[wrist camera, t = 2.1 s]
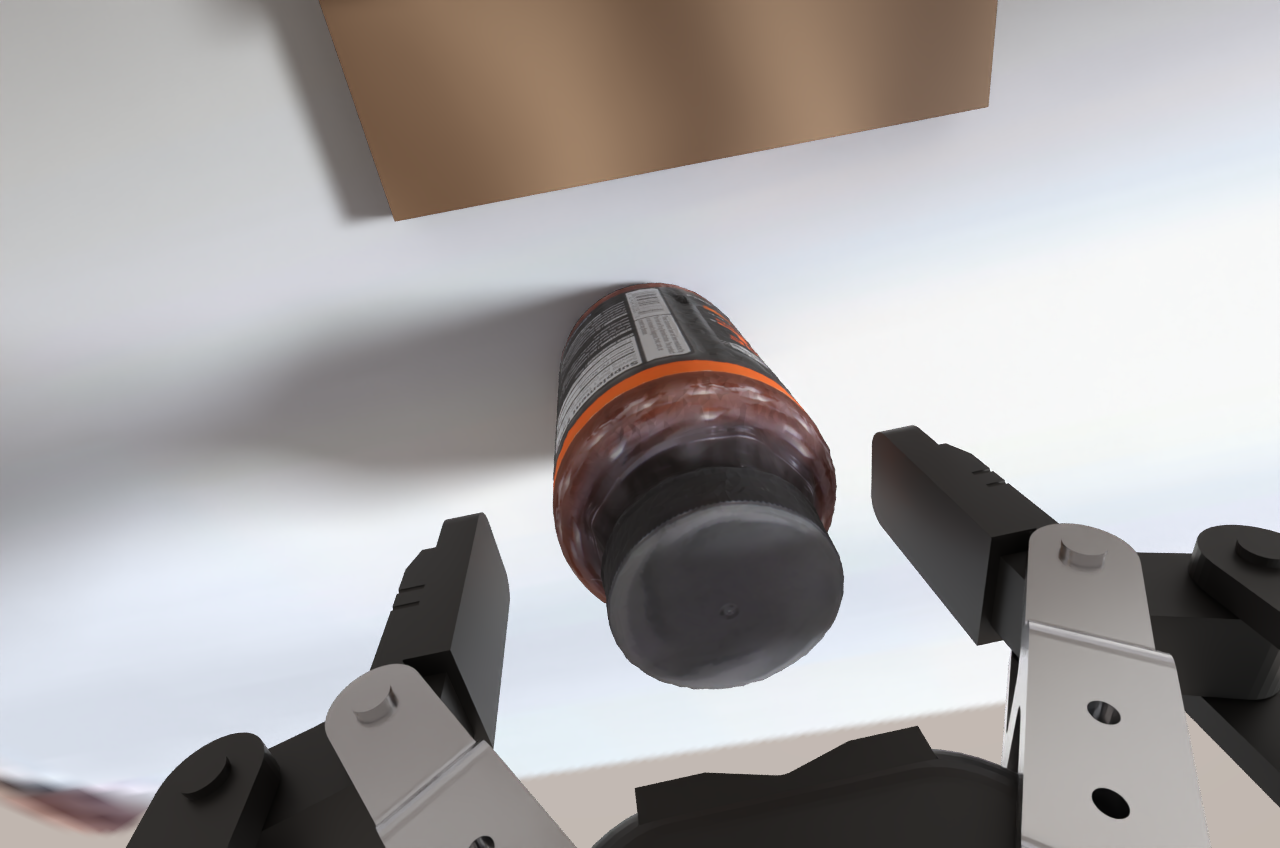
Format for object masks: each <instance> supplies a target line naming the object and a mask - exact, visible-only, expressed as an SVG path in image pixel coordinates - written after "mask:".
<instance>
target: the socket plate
mask: <svg viewBox="0 0 1280 848" xmlns="http://www.w3.org/2000/svg"><path fill="white" fill-rule="evenodd" d="M319 2H320V5H321V8H322V11H323V14H324V17H325V20H326V23H327V26H328V29H329V31H330V34H331V37H332V40H333V43H334V46H335V49H336V52H337V55H338V58H339V61H340V63H341V66H342V69H343V72H344V75H345V78H346V81H347V84H348V87H349V90H350V93H351V95H352V98H353V101H354V104H355V107H356V110H357V113H358V116H359V119H360V122H361V125H362V127H363V130H364V133H365V136H366V139H367V142H368V145H369V148H370V151H371V154H372V157H373V159H374V162H375V165H376V168H377V171H378V174H379V177H380V180H381V183H382V186H383V189H384V191H385V194H386V197H387V200H388V203H389V206H390V209H391V212H392V215H393V218H394V221H400V220H406V219H411V218H416V217H421V216H426V215H431V214H437V213H442V212H447V211H452V210H457V209H463V208H468V207H473V206H478V205H483V204H488V203H494V202H499V201H504V200H509V199H514V198H519V197H525V196H530V195H535V194H540V193H545V192H551V191H556V190H561V189H566V188H571V187H576V186H582V185H587V184H592V183H597V182H602V181H607V180H613V179H618V178H623V177H628V176H633V175H638V174H644V173H649V172H654V171H659V170H664V169H670V168H675V167H680V166H685V165H690V164H695V163H701V162H706V161H711V160H716V159H721V158H726V157H732V156H737V155H742V154H747V153H752V152H758V151H763V150H768V149H773V148H778V147H783V146H789V145H794V144H799V143H804V142H809V141H814V140H820V139H825V138H830V137H835V136H840V135H845V134H851V133H856V132H861V131H866V130H871V129H877V128H882V127H887V126H892V125H897V124H902V123H908V122H913V121H918V120H923V119H928V118H933V117H939V116H944V115H949V114H954V113H959V112H965V111H970V110H975V109H980V108H985V107H988V105H989V94H990V82H991V71H992V59H993V48H994V36H995V25H996V13H997V2H998V0H319Z"/></svg>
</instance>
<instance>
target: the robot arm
mask: <svg viewBox="0 0 1280 848" xmlns="http://www.w3.org/2000/svg"><path fill="white" fill-rule="evenodd" d="M871 498H872V505H873V509H874V512H875V515H876V517H877V519H878V521H879V523H880V525H881V526H882V527H883V529H884V530H885V531H886V532H887V534H888V535H889V536H890V537H891V539H892V540H893V541H894V542H895V544H896V545H897V546H898V547H899V549H900V550H901V551H902V552H903V554H904V555H905V556H906V557H907V559H908V560H909V561H910V562H911V564H912V565H913V566H914V567H915V569H916V570H917V571H918V572H919V574H920V575H921V576H922V577H923V579H924V580H925V581H926V582H927V584H928V585H929V586H930V587H931V589H932V590H933V591H934V592H935V594H936V595H937V596H938V597H939V599H940V600H941V601H942V602H943V604H944V605H945V606H946V607H947V609H948V610H949V611H950V612H951V614H952V615H953V616H954V617H955V619H956V620H957V621H958V622H959V624H960V625H961V626H962V627H963V629H964V630H965V631H966V632H967V634H968V635H969V636H970V637H971V639H972V640H973V641H974V642H975V644H976V645H977V646H978V645H983V644H988V643H992V642H997V641H1001V640H1004V641H1005V643H1006V644H1007V645H1008V646H1009V647H1010V648H1011V652H1010V658H1009V665H1008V679H1007V693H1006V707H1005V722H1004V736H1003V750H1002V760H1001V766H1000V765H998V764H995V763H993V762H990V761H987V760H984V759H981V758H979V757H974V756H971V755H967V754H963V753H959V752H953V751H946V750H937V749H931V747H930V746H929V744H928V742H927V741H926V739H925V737H924V736H923V734H922V732H921V731H920V729H919V727H918V726H915V727H910V728H905V729H901V730H897V731H892V732H887V733H883V734H878V735H874V736H870V737H865V738H860V739H856V740H851V741H848V742H846V743H844V744H842V745H840V746H839V747H837V748H835V749H833V750H831V751H829V752H827V753H826V754H824V755H822V756H820V757H818V758H816V759H814V760H812V761H811V762H809V763H807V764H805V765H803V766H801V767H800V768H798V769H796V770H794V771H792V772H790V773H787V774H785V775H778V776H777V775H776V776H775V775H751V774H725V773H702V774H697V775H692V776H688V777H683V778H679V779H674V780H670V781H665V782H660V783H656V784H651V785H647V786H642V787H638V788H635V794H636V803H637V812H638V813H636V814H634V815H633V816H631V817H629V818H627V819H626V820H624V821H623V822H621V823H620V824H618V825H617V826H616V827H614V828H613V829H611V830H610V831H609V832H608V833H607V834H605V835H604V836H603V837H602V838H601V839H600V840H599V841H598V842H596V843H595V844H594V845H593V847H592V848H1211V844H1210V839H1209V834H1208V829H1207V824H1206V819H1205V813H1204V809H1203V803H1202V798H1201V793H1200V788H1199V782H1198V777H1197V772H1196V767H1195V762H1194V757H1193V752H1192V747H1191V741H1190V737H1189V731H1188V726H1187V721H1186V716H1185V711H1186V713H1187V714H1188V715H1189V716H1190V717H1191V718H1192V719H1194V721H1195V722H1196V723H1197V724H1198V725H1199V726H1200V727H1201V728H1202V729H1203V730H1204V731H1205V732H1206V733H1207V734H1208V735H1209V736H1210V737H1211V738H1212V739H1213V740H1214V741H1215V742H1216V743H1217V744H1218V745H1219V746H1220V747H1221V748H1222V749H1223V750H1224V751H1225V752H1226V753H1227V754H1228V755H1229V756H1230V757H1231V758H1232V759H1233V760H1234V761H1235V762H1236V763H1237V764H1238V765H1239V767H1240V768H1242V770H1244V772H1245V773H1246V774H1248V776H1250V778H1251V779H1252V780H1253V781H1254V782H1255V783H1256V784H1257V785H1258V786H1259V787H1260V788H1261V789H1262V790H1263V791H1264V792H1265V793H1266V794H1267V795H1268V796H1269V797H1270V798H1271V799H1272V800H1273V801H1274V802H1275V803H1276V804H1277V805H1278V806H1279V807H1280V533H1277V532H1274V531H1270V530H1266V529H1262V528H1257V527H1251V526H1243V525H1221V526H1215V527H1211V528H1208V529H1206V530H1204V531H1203V532H1201V533H1200V534H1199V536H1198V538H1197V541H1196V544H1195V547H1194V550H1193V553H1192V554H1186V553H1139V552H1136V551H1135V550H1134V549H1133V548H1132V547H1131V546H1130V545H1129V544H1127V543H1126V542H1125V541H1123V540H1122V539H1120V538H1118V537H1117V536H1115V535H1113V534H1110V533H1108V532H1106V531H1103V530H1100V529H1097V528H1094V527H1090V526H1085V525H1080V524H1069V523H1061V524H1059V523H1058V522H1056V521H1055V520H1054V519H1052V518H1051V517H1050V516H1049V515H1047V514H1046V513H1045V512H1044V511H1042V510H1041V509H1040V508H1039V507H1037V506H1036V505H1035V504H1034V503H1032V502H1031V501H1030V500H1029V499H1027V498H1026V497H1025V496H1024V495H1022V494H1021V493H1020V492H1019V491H1017V490H1016V489H1015V488H1014V487H1012V486H1011V485H1010V484H1009V483H1008V484H1006V483H1005V480H1004V479H1002V478H1001V477H1000V476H999V475H997V474H996V473H995V472H994V471H992V472H991V471H990V468H989V467H987V466H986V465H985V464H984V463H982V462H981V461H980V460H979V459H977V458H976V457H975V456H974V455H972V454H971V453H968V452H966V451H963V450H961V449H958V448H956V447H953V446H951V445H949V444H946V443H945V444H940V445H938V444H937V443H936V442H935V441H934V440H932V439H931V438H930V437H929V436H928V435H927V434H925V433H924V432H923V431H922V430H921V429H919V428H918V427H917V426H914V425H911V426H906V427H901V428H897V429H892V430H887V431H882V432H877V433H876V434H875V435H874V437H873V441H872V484H871ZM509 603H510V593H509V584H508V579H507V574H506V571H505V568H504V565H503V562H502V559H501V556H500V553H499V550H498V548H497V545H496V542H495V539H494V536H493V533H492V530H491V527H490V525H489V522H488V519H487V517H486V516H485V514H484V513H477V514H472V515H467V516H462V517H457V518H452V519H447V520H445V521H444V523H443V526H442V529H441V532H440V536H439V539H438V542H437V546H436V547H435V548H430V549H425V550H422V551H421V552H420V553H419V555H418V556H417V557H416V558H415V559H414V560H413V562H412V563H411V564H410V565H409V566H408V567H407V569H406V570H405V573H404V576H403V578H402V581H401V584H400V587H399V594H397V595H396V598H395V601H394V604H393V611H391V612H390V615H389V618H388V621H387V624H386V626H385V629H384V632H383V635H382V638H381V641H380V643H379V646H378V649H377V652H376V655H375V658H374V660H373V663H372V666H371V669H370V671H369V672H367V673H365V674H363V675H361V676H360V677H358V678H357V679H355V680H354V681H353V682H351V683H350V684H349V685H348V686H347V687H346V688H345V689H344V690H343V691H342V692H341V693H340V694H339V695H338V696H337V698H336V699H335V700H334V702H333V703H332V705H331V707H330V709H329V711H328V713H327V716H326V720H325V722H323V723H321V724H319V725H317V726H315V727H314V728H311V729H309V730H307V731H305V732H303V733H301V734H299V735H297V736H295V737H293V738H290V739H288V740H286V741H284V742H282V743H280V744H278V745H276V746H274V747H271V748H269V749H267V747H266V746H265V744H264V743H263V742H262V740H261V739H260V738H259V737H258V736H256V735H254V734H251V733H235V734H230V735H227V736H224V737H221V738H219V739H217V740H214V741H212V742H210V743H209V744H207V745H205V746H203V747H202V748H200V749H199V750H197V751H196V752H194V753H193V754H192V755H190V756H189V757H188V758H186V759H185V760H184V761H183V762H182V763H181V764H180V765H179V766H177V767H176V768H175V769H174V771H173V772H172V773H171V774H170V775H169V776H168V777H167V778H166V780H165V781H164V782H163V783H162V785H161V786H160V788H159V789H158V791H157V793H156V794H155V796H154V798H153V800H152V801H151V803H150V805H149V807H148V809H147V810H146V812H145V814H144V816H143V818H142V820H141V821H140V823H139V825H138V827H137V829H136V830H135V832H134V834H133V836H132V838H131V840H130V841H129V843H128V845H127V847H126V848H577V847H576V846H575V845H574V844H573V843H572V841H571V840H570V839H569V838H568V837H567V836H566V834H565V833H564V832H563V831H562V830H561V828H560V827H559V826H558V825H557V824H556V823H555V821H554V820H553V819H552V818H551V817H550V816H549V814H548V813H547V812H546V811H545V810H544V809H543V807H542V806H541V805H540V804H539V803H538V801H537V800H536V799H535V798H534V797H533V796H532V794H531V793H530V792H529V791H528V790H527V788H526V787H525V786H524V785H523V784H522V783H521V781H520V780H519V779H518V778H517V777H516V776H515V774H514V773H513V772H512V771H511V770H510V768H509V767H508V766H507V765H506V764H505V763H504V761H503V760H502V759H501V758H500V757H499V756H498V754H497V753H496V752H495V751H494V750H493V748H494V739H495V730H496V721H497V712H498V703H499V694H500V685H501V676H502V667H503V658H504V649H505V640H506V630H507V621H508V612H509Z"/></svg>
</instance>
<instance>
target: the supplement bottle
mask: <svg viewBox="0 0 1280 848" xmlns="http://www.w3.org/2000/svg"><path fill="white" fill-rule="evenodd" d="M553 480H554V483H553V515H554V520H555V529H556V533H557V537H558V541H559V544H560V547H561V549H562V552H563V555H564V557H565V559H566V561H567V563H568V564H569V566H570V567H571V569H572V571H573V572H574V574H575V575H576V576H577V577H578V579H579V580H580V581H581V582H582V583H583V585H584V586H585V587H586V588H587V589H588V590H589V591H590V592H591V593H593V594H594V595H595V596H596V597H597V598H598V599H600V600H601V601H602V602H604V603H606V606H607V613H608V620H609V625H610V629H611V632H612V634H613V637H614V639H615V641H616V644H617V645H618V647H619V648H620V649H621V650H622V652H623V653H624V655H625V657H626V658H627V659H628V660H629V661H630V662H631V663H632V664H633V665H635V666H637V667H639V668H640V669H641V670H642V671H643V672H644V673H646V674H647V675H649V676H651V677H653V678H655V679H657V680H659V681H662V682H664V683H668V684H673V685H676V686H679V687H688V688H691V689H725V688H732V687H737V686H744V685H747V684H749V683H752V682H756V681H761V680H764V679H766V678H768V677H770V676H772V675H773V674H775V673H777V672H780V671H782V670H783V669H785V668H786V667H788V666H790V665H791V664H793V663H795V662H796V661H797V660H799V659H800V658H801V657H803V656H805V655H806V654H807V653H808V652H809V651H810V650H811V649H812V648H813V647H814V646H815V645H816V644H817V643H818V642H819V641H820V640H821V639H822V638H823V637H824V635H825V633H826V632H827V631H828V630H829V629H830V627H831V626H832V624H833V622H834V620H835V618H836V616H837V613H838V610H839V607H840V604H841V600H842V597H843V583H844V575H843V568H842V563H841V561H840V556H839V554H838V552H837V550H836V548H835V546H834V544H833V543H832V541H831V539H830V537H829V535H828V533H827V532H828V530H829V527H830V525H831V522H832V516H833V513H834V506H835V501H836V487H837V486H836V475H835V468H834V466H833V463H832V459H831V456H830V449H829V447H828V446H827V444H826V442H825V441H824V439H823V437H822V436H821V434H820V432H819V430H818V428H817V426H816V425H815V423H814V422H813V421H812V420H811V418H810V417H809V416H808V414H807V413H806V412H805V411H804V409H803V408H802V407H801V406H800V405H799V404H798V402H797V401H796V400H795V399H794V397H793V396H792V395H791V393H790V392H789V390H788V389H786V387H785V386H784V385H783V384H782V383H781V382H780V380H779V379H778V378H777V376H776V375H775V374H774V373H773V372H772V371H771V370H770V368H769V367H768V366H767V365H766V364H765V363H764V362H763V361H762V359H761V358H760V357H759V356H758V354H757V353H756V352H755V351H754V350H753V349H752V348H751V346H750V344H749V343H748V342H747V341H746V340H745V339H744V338H743V336H742V335H741V333H740V332H739V331H738V330H737V329H736V327H735V326H734V325H733V324H732V323H731V322H730V320H729V318H728V317H727V316H726V315H724V314H723V313H722V312H721V311H720V310H719V309H718V308H717V307H716V306H714V305H713V304H712V303H710V302H709V301H708V300H706V299H705V298H703V297H702V296H700V295H698V294H697V293H695V292H693V291H690V290H687V289H685V288H682V287H679V286H677V285H672V284H664V283H647V284H638V285H633V286H630V287H625V288H622V289H620V290H616V291H614V292H613V293H611V294H608V295H607V296H605V297H604V298H602V299H600V300H599V301H598V302H596V303H595V304H594V305H593V306H592V307H590V308H589V309H588V310H587V311H586V312H585V313H584V314H583V315H582V317H581V318H580V319H579V320H578V322H577V323H576V325H575V326H574V328H573V330H572V331H571V333H570V335H569V338H568V340H567V342H566V346H565V348H564V350H563V353H562V359H561V365H560V372H559V389H558V404H557V425H556V439H555V455H554V472H553Z"/></svg>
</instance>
